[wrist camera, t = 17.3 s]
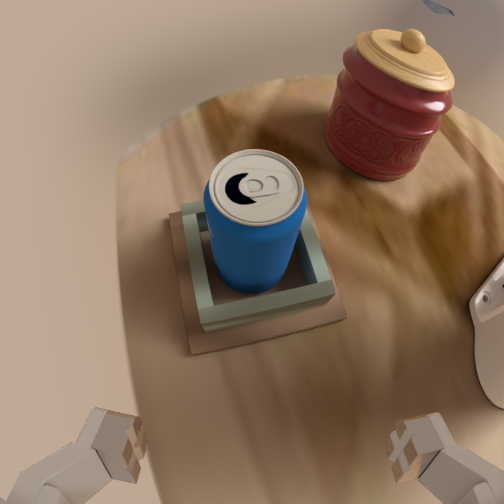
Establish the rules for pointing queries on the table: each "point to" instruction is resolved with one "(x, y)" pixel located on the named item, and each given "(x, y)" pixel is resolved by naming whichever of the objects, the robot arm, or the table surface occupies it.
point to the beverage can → (254, 218)
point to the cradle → (249, 305)
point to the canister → (387, 103)
